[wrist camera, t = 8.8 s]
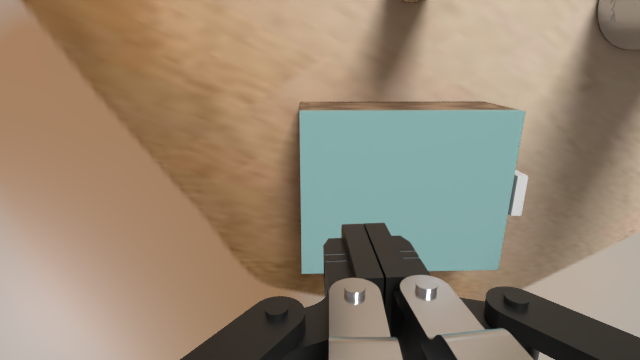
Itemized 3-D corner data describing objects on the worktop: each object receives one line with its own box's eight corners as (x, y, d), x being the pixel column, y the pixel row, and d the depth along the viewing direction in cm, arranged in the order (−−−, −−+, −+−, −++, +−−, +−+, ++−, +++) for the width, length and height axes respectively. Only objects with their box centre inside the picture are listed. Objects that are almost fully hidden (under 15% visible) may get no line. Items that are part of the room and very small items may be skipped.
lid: (527, 108, 35) (540, 111, 33) (501, 259, 40) (511, 270, 38) (299, 109, 34) (299, 112, 32) (301, 263, 39) (301, 274, 37)
